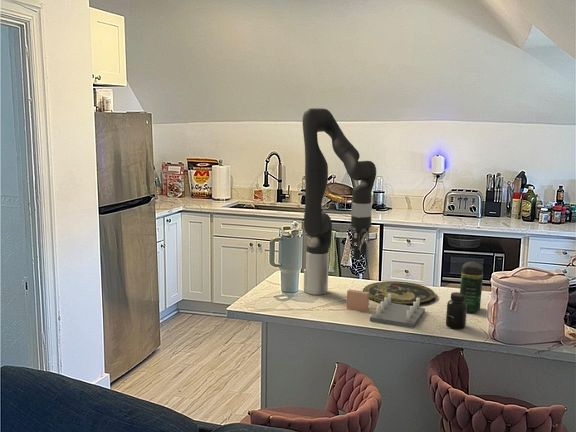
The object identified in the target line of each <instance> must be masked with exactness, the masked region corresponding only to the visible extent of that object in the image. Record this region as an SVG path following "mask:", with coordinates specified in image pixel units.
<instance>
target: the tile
mask: <svg viewBox="0 0 576 432" xmlns="http://www.w3.org/2000/svg"><path fill="white" fill-rule="evenodd" d="M369 306H370V300H369V292H364V291H363V290H356V289H347V291H346V309H347V310H352V311H354V310H355V311H360V312H368V311H369V309H370V308H369Z"/></svg>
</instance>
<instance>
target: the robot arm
mask: <svg viewBox="0 0 576 432" xmlns="http://www.w3.org/2000/svg"><path fill="white" fill-rule="evenodd" d="M302 132H303V143H304V144H303V145H304V180H305V181H304V182H305V183H304V186H305V189H304V191H305V196H304V197H305V200H304V201H305V204H304V214H303V215H304V216H303V229H304V232H305V233H306V235H307V236H309V237H310V240H309V241H308V242H307V244H306V256H305V257H306V258H305V261H306V262H305V269H304V270H303V292H304V293H307V294H309V295H314V296H317V295H318V296H319V295H325V294H327V293H328V290H329V289H328V287H329V262H330V261H329V256H330V253H329V252H330V247H331V244H332V236H333V235H332V234H333V223H332V221H333V220H332V218H331V216H330V215H329V214H328V213H326V212H323V211H322V204H323V199H324V195H325V193H326V189H327V187H328V182H329V166H328V162H327V160H326V158H325V155H324V154H323V152H322V151H321V148H320V146H319V140H318V133H319V132H321V133H322V132H324V133H325V134H327V135H328V136H329V137H330V139H331V145H332V149H333V153H334V154H335V155H336V156H337V157H338V159H339V160H340V161H341V162H342V163H343V166H344V168H345V170H346V173H347V175H348V177H349V178H351V179H352V180H353V181H359V182H360V183H359V184H358V185H357V186H355V187H353V188H352V192H351V193H352V195H351V197H352V198H351V199H352V201H351V202H352V203H351V210H350V213H351V214H350V226H351V228H353V229H354V228H355V231H354V232H352V234H351V235H352V236H351V238H352V240H351V249H353V260H356V261H357V260H358V261H359V260H360V259H361V255H364V256H365V255H367V252H368V251H367V250H368V249H367V248H368V246H367V245H368V244H369V242H370V228H371V227H372V212H373V210H372V191H373V189H374V184H375V182H376V179H377V166H376V164H375V163H374V162H373V161H372V160H361V161H359V159H360V158H361V157H360V156H361V155H360V153H359V151H358V149H357V148H356V147H355V146H354V145H353V144H352V143H351V141H350V140H349V139H348V138H347V137H346V135H345V134H344V132H343V130H342V129H341V127H340V125H339V124H338V123H337V120H336V119H335V117H334V115H333V113H331V111H330V110H328V109H327V108H323V107H322V108H319V107H318V108H317V107H315V108H307V109H305V110H304V112H303V114H302Z"/></svg>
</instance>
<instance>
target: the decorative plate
mask: <svg viewBox="0 0 576 432" xmlns="http://www.w3.org/2000/svg"><path fill="white" fill-rule="evenodd" d="M362 291H364V292H369V301H371V302H374V303H378V304H380V305H381V301H383V302H384V298H388V294H391V303H394V304H401V305H407V306H413V302H416V299H417V298H420V303H419V307H421V306H422V307H423V306H427V305H429V304H433V303H434V302H435V301H436V299H437V295H436V292H435V291H434V290H433V289H431V288H429V287H428V286H425V285H421V284H418V283H414V282H407V281H396V280H395V281H394V280H393V281H392V280H391V281H388V280H387V281H377V282H374V283H370V284H367V285H366V286H365V287H364V288H363V289H362ZM387 302H388V301H387Z"/></svg>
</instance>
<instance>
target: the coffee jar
mask: <svg viewBox="0 0 576 432" xmlns="http://www.w3.org/2000/svg"><path fill="white" fill-rule="evenodd" d="M483 279H484V266H483V265H482V264H481V262H477V261H476V262H475V261H468V262H465V263H463V265H462V267H461V275H460V284H459V285H460V288H459V293H463V294H465V302H466V303H467V313H468V314H472V313H474V314H477V313H478V312H480V309H481V302H482V292H483V291H482V290H483V281H484V280H483Z"/></svg>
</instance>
